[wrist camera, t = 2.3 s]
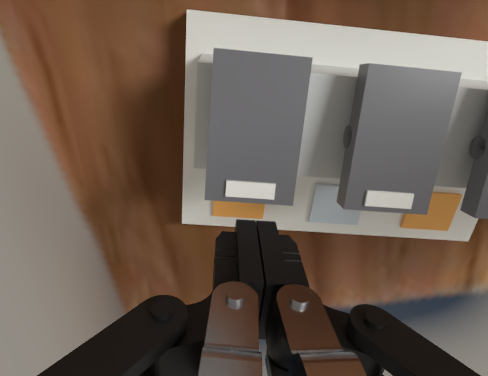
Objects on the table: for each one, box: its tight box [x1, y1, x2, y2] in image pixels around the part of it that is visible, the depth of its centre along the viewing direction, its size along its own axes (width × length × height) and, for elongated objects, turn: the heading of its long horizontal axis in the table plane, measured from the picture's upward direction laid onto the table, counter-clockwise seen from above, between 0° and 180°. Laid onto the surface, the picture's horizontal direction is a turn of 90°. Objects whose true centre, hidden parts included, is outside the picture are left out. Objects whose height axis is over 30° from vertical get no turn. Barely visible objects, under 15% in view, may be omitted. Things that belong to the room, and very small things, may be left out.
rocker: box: [205, 48, 313, 206], centre depth 17 cm, size 4×7×2 cm, turn 174°
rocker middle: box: [336, 63, 462, 215], centre depth 18 cm, size 4×7×2 cm, turn 174°
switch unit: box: [182, 10, 488, 241], centre depth 23 cm, size 22×14×6 cm, turn 84°
